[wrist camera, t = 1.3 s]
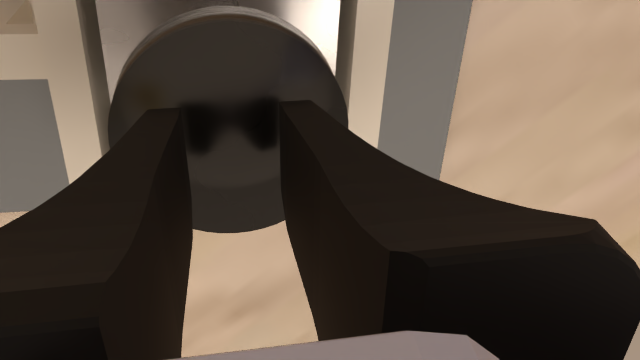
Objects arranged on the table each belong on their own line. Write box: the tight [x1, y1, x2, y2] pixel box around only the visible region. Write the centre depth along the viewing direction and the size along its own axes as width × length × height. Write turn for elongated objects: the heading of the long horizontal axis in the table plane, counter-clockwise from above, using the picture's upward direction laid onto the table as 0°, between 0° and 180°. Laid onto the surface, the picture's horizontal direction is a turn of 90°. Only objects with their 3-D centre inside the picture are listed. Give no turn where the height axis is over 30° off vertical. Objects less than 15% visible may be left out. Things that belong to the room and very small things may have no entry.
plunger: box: [95, 0, 349, 233], centre depth 14 cm, size 6×6×6 cm
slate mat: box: [0, 0, 473, 213], centre depth 20 cm, size 18×16×1 cm
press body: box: [0, 0, 395, 184], centre depth 18 cm, size 11×9×5 cm
